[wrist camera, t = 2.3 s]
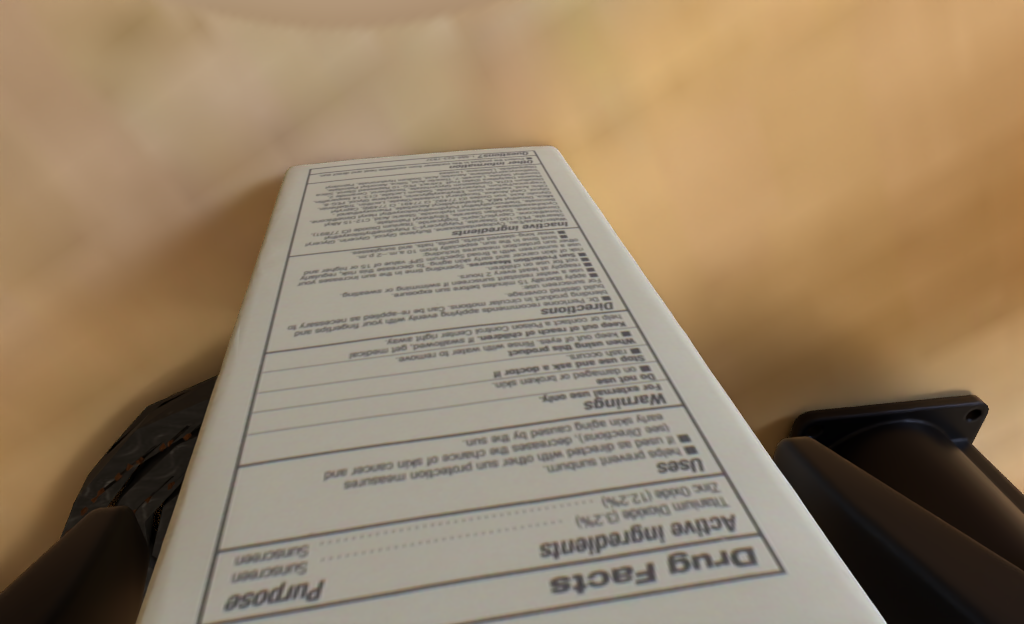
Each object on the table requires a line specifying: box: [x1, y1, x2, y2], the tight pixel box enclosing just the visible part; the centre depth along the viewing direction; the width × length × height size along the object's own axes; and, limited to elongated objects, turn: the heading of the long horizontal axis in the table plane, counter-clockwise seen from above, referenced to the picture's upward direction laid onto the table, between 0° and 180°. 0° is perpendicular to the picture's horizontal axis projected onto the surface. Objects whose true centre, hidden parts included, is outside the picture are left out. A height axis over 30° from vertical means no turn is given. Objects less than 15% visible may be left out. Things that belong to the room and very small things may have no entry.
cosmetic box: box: [136, 146, 887, 624], centre depth 11 cm, size 6×4×12 cm
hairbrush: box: [60, 376, 218, 606], centre depth 19 cm, size 8×4×25 cm
